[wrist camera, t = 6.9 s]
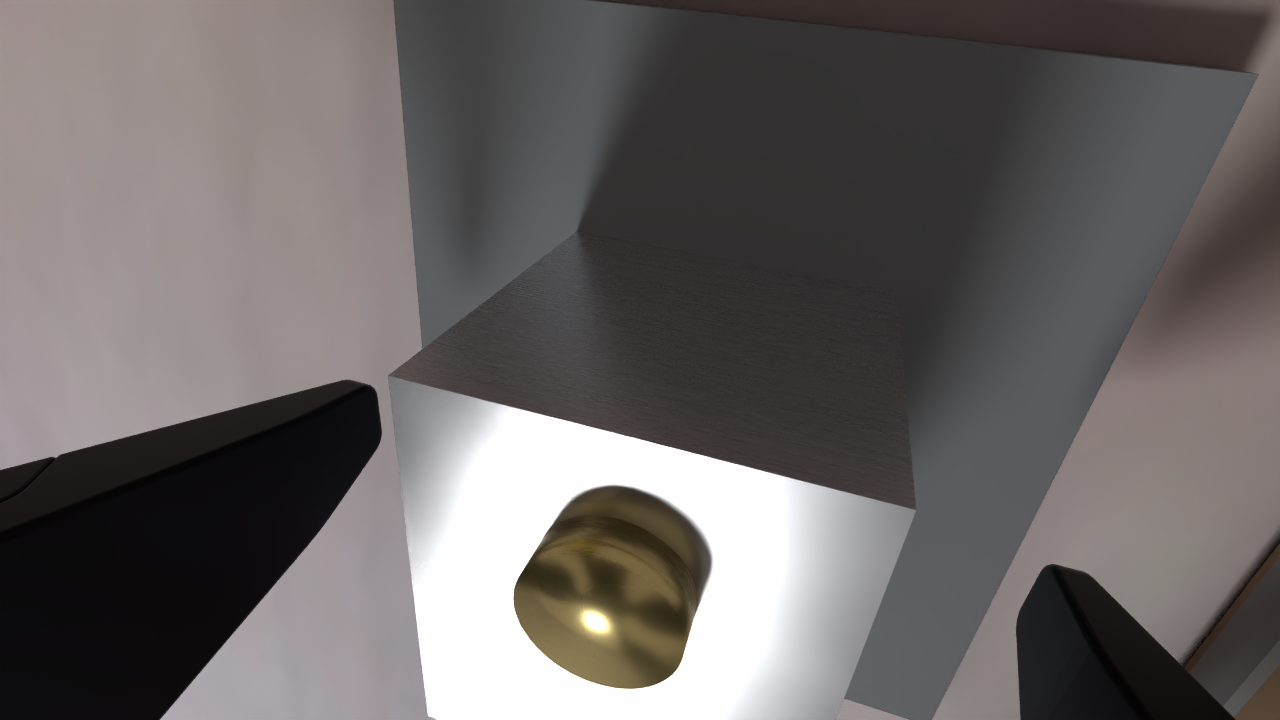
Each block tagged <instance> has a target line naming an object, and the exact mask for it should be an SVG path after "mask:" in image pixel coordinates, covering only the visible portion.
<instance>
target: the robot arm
mask: <svg viewBox="0 0 1280 720" xmlns="http://www.w3.org/2000/svg"><path fill="white" fill-rule="evenodd" d="M381 435H382V429H381V421H380V413H379V405H378V397H377V392H376V391H375V389H374V388H373V387H372V386H371V385H368V384H364V383H360V382H357V381H353V380H342V381H338V382H334V383H330V384H327V385H323V386H319V387H315V388H311V389H308V390H304V391H300V392H296V393H292V394H289V395H285V396H281V397H277V398H273V399H270V400H266V401H262V402H258V403H254V404H251V405H247V406H243V407H239V408H235V409H232V410H228V411H224V412H220V413H216V414H213V415H209V416H205V417H201V418H197V419H194V420H190V421H186V422H182V423H178V424H175V425H171V426H167V427H163V428H159V429H156V430H152V431H148V432H144V433H140V434H137V435H133V436H129V437H125V438H121V439H118V440H114V441H110V442H106V443H102V444H99V445H95V446H91V447H87V448H83V449H80V450H76V451H72V452H68V453H65V454H61V455H59V456H58V457H57V458H55V457H49V458H45V459H41V460H37V461H34V462H30V463H26V464H22V465H18V466H15V467H11V468H7V469H3V470H0V720H160V719H161V718H162V717H163V715H164V714H165V713H166V712H167V711H168V710H169V708H170V707H171V706H172V705H173V704H174V702H175V701H176V700H177V699H178V698H179V697H180V695H181V694H182V693H183V692H184V691H185V689H186V688H187V687H188V686H189V685H190V684H191V682H192V681H193V680H194V679H195V678H196V677H197V675H198V674H199V673H200V672H201V671H202V669H203V668H204V667H205V666H206V665H207V664H208V662H209V661H210V660H211V659H212V658H213V657H214V655H215V654H216V653H217V652H218V651H219V649H220V648H221V647H222V646H223V645H224V644H225V642H226V641H227V640H228V639H229V638H230V637H231V635H232V634H233V633H234V632H235V631H236V629H237V628H238V627H239V626H240V625H241V624H242V622H243V621H244V620H245V619H246V618H247V616H248V615H249V614H250V613H251V612H252V611H253V609H254V608H255V607H256V606H257V605H258V604H259V602H260V601H261V600H262V599H263V598H264V596H265V595H266V594H267V593H268V592H269V591H270V589H271V588H272V587H273V586H274V585H275V584H276V582H277V581H278V580H279V579H280V578H281V576H282V575H283V574H284V573H285V572H286V571H287V569H288V568H289V567H290V566H291V565H292V564H293V562H294V561H295V560H296V559H297V558H298V556H299V555H300V554H301V553H302V552H303V551H304V549H305V548H306V547H307V546H308V545H309V543H310V542H311V541H312V540H313V539H314V537H315V536H316V535H317V534H318V532H319V531H320V530H321V528H322V527H323V526H324V524H325V523H326V522H327V520H328V519H329V518H330V516H331V515H332V513H333V512H334V510H335V509H336V507H337V506H338V505H339V503H340V502H341V500H342V499H343V497H344V496H345V494H346V493H347V492H348V490H349V489H350V487H351V486H352V484H353V483H354V481H355V480H356V479H357V477H358V476H359V474H360V473H361V471H362V470H363V468H364V467H365V465H366V464H367V463H368V461H369V460H370V458H371V457H372V455H373V454H374V452H375V451H376V449H377V448H378V446H379V443H380V440H381ZM1016 637H1017V657H1018V677H1019V697H1020V716H1021V720H1236V719H1235V718H1234V717H1233V716H1232V715H1231V714H1230V713H1229V712H1228V711H1227V710H1226V709H1225V708H1224V707H1223V706H1222V705H1221V704H1220V703H1219V702H1218V701H1217V700H1216V699H1215V698H1214V697H1213V696H1212V695H1211V694H1210V693H1209V692H1208V691H1207V690H1206V689H1205V688H1204V687H1203V686H1202V685H1201V684H1200V683H1199V682H1198V681H1197V680H1196V679H1195V678H1194V677H1193V676H1192V675H1191V674H1190V673H1189V672H1188V671H1187V670H1186V669H1185V668H1184V667H1183V666H1182V665H1180V664H1179V663H1178V662H1177V661H1176V660H1175V659H1174V658H1173V657H1172V656H1171V655H1170V654H1169V653H1168V652H1167V651H1166V650H1165V649H1164V648H1163V647H1162V646H1161V645H1160V644H1159V643H1158V642H1157V641H1156V640H1155V639H1154V638H1153V637H1152V636H1151V635H1150V634H1149V633H1148V632H1147V631H1146V630H1145V629H1144V628H1143V627H1142V626H1141V625H1140V624H1139V623H1138V622H1137V621H1136V620H1135V619H1134V618H1133V617H1132V616H1131V615H1130V614H1129V613H1128V612H1127V611H1126V610H1125V609H1124V608H1123V607H1122V606H1121V605H1120V604H1119V603H1118V602H1117V601H1116V600H1115V599H1114V598H1113V597H1112V596H1111V595H1110V594H1109V593H1108V592H1107V591H1106V590H1105V589H1104V588H1103V587H1102V586H1101V585H1100V584H1099V583H1098V582H1097V581H1096V580H1095V579H1094V578H1093V577H1091V576H1090V575H1089V574H1087V573H1085V572H1082V571H1079V570H1075V569H1071V568H1067V567H1064V566H1060V565H1056V564H1051V565H1047V566H1046V567H1044V568H1043V569H1042V571H1041V572H1040V574H1039V576H1038V578H1037V579H1036V581H1035V583H1034V585H1033V587H1032V589H1031V590H1030V592H1029V594H1028V596H1027V598H1026V600H1025V602H1024V603H1023V605H1022V607H1021V609H1020V611H1019V614H1018V618H1017V625H1016Z"/></svg>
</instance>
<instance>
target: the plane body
mask: <svg viewBox="0 0 1280 720" xmlns="http://www.w3.org/2000/svg"><path fill="white" fill-rule="evenodd" d="M1184 668H1185V669H1186V670H1187V671H1188V672H1189V673H1190V674H1191V675H1192V676H1193V677H1194V678H1195V679H1196V680H1197V681H1198V682H1199V683H1200V684H1201V685H1202V686H1203V687H1204V688H1205V689H1206V690H1207V691H1208V692H1209V693H1210V694H1211V695H1212V696H1213V697H1214V698H1215V699H1216V700H1217V701H1218V702H1219V703H1220V704H1221V705H1222V706H1223V707H1224V708H1225V709H1226V710H1227V711H1228V712H1229V713H1230V714H1231V715H1232V716H1233V717H1234V718H1235V719H1236V720H1280V543H1279V545H1278V546H1277V547H1276V548H1275V550H1274V551H1273V552H1272V554H1271V555H1270V556H1269V558H1268V559H1267V560H1266V561H1265V563H1264V564H1263V565H1262V567H1261V568H1260V569H1259V571H1258V572H1257V573H1256V574H1255V576H1254V577H1253V578H1252V580H1251V581H1250V582H1249V584H1248V585H1247V586H1246V587H1245V589H1244V590H1243V591H1242V593H1241V594H1240V595H1239V597H1238V598H1237V599H1236V600H1235V602H1234V603H1233V604H1232V606H1231V607H1230V608H1229V610H1228V611H1227V612H1226V614H1225V615H1224V616H1223V617H1222V619H1221V620H1220V621H1219V623H1218V624H1217V625H1216V627H1215V628H1214V629H1213V630H1212V632H1211V633H1210V634H1209V636H1208V637H1207V638H1206V640H1205V641H1204V642H1203V643H1202V645H1201V646H1200V647H1199V649H1198V650H1197V651H1196V653H1195V654H1194V655H1193V656H1192V658H1191V659H1190V660H1189V662H1188V663H1187V664H1186V666H1185V667H1184Z"/></svg>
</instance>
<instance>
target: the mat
mask: <svg viewBox="0 0 1280 720" xmlns="http://www.w3.org/2000/svg"><path fill="white" fill-rule="evenodd" d="M393 1H394V13H395V25H396V37H397V49H398V61H399V73H400V85H401V97H402V109H403V121H404V133H405V145H406V157H407V169H408V181H409V193H410V205H411V217H412V229H413V241H414V254H415V266H416V278H417V290H418V302H419V314H420V326H421V338H422V349H423V348H425V347H426V346H427V345H429V344H430V343H431V342H433V341H434V340H435V339H437V338H438V337H439V336H440V335H442V334H443V333H444V332H446V331H447V330H448V329H450V328H451V327H452V326H453V325H455V324H456V323H457V322H459V321H460V320H461V319H463V318H464V317H465V316H466V315H468V314H469V313H470V312H472V311H473V310H474V309H476V308H477V307H478V306H480V305H481V304H482V303H483V302H485V301H486V300H487V299H489V298H490V297H491V296H493V295H494V294H495V293H496V292H498V291H499V290H500V289H502V288H503V287H504V286H506V285H507V284H508V283H510V282H511V281H512V280H513V279H515V278H516V277H517V276H519V275H520V274H521V273H523V272H524V271H525V270H526V269H528V268H529V267H530V266H532V265H533V264H534V263H536V262H537V261H538V260H540V259H541V258H542V257H543V256H545V255H546V254H547V253H549V252H550V251H551V250H553V249H554V248H555V247H556V246H558V245H559V244H560V243H562V242H563V241H564V240H566V239H567V238H568V237H570V236H571V235H572V234H573V233H575V232H576V231H581V232H587V233H592V234H597V235H603V236H608V237H613V238H619V239H624V240H629V241H635V242H640V243H645V244H651V245H656V246H661V247H667V248H672V249H677V250H683V251H688V252H693V253H699V254H704V255H709V256H715V257H720V258H725V259H731V260H736V261H741V262H747V263H752V264H757V265H763V266H768V267H773V268H779V269H784V270H789V271H795V272H800V273H805V274H811V275H816V276H821V277H827V278H832V279H837V280H843V281H848V282H853V283H859V284H864V285H869V286H875V287H880V288H885V289H891V290H896V291H897V300H898V311H899V322H900V333H901V344H902V356H903V367H904V378H905V389H906V400H907V412H908V423H909V434H910V445H911V457H912V468H913V479H914V490H915V501H916V512H915V515H914V517H913V520H912V523H911V525H910V528H909V530H908V533H907V536H906V538H905V541H904V543H903V546H902V549H901V551H900V554H899V557H898V559H897V562H896V564H895V567H894V570H893V572H892V575H891V577H890V580H889V583H888V585H887V588H886V590H885V593H884V596H883V598H882V601H881V603H880V606H879V609H878V611H877V614H876V616H875V619H874V622H873V624H872V627H871V630H870V632H869V635H868V637H867V640H866V643H865V645H864V648H863V650H862V653H861V656H860V658H859V661H858V663H857V666H856V669H855V671H854V674H853V676H852V679H851V682H850V684H849V687H848V689H847V692H846V695H845V697H844V699H848V700H851V701H854V702H857V703H860V704H863V705H866V706H869V707H872V708H876V709H879V710H882V711H885V712H888V713H891V714H894V715H897V716H900V717H903V718H907V719H910V720H932V718H933V716H934V714H935V712H936V710H937V708H938V706H939V704H940V702H941V700H942V699H943V697H944V695H945V693H946V691H947V689H948V687H949V685H950V683H951V681H952V679H953V677H954V675H955V673H956V671H957V669H958V667H959V665H960V663H961V661H962V659H963V657H964V655H965V653H966V651H967V649H968V647H969V645H970V643H971V641H972V639H973V637H974V635H975V633H976V631H977V629H978V627H979V625H980V624H981V622H982V620H983V618H984V616H985V614H986V612H987V610H988V608H989V606H990V604H991V602H992V600H993V598H994V596H995V594H996V592H997V590H998V588H999V586H1000V584H1001V582H1002V580H1003V578H1004V576H1005V574H1006V572H1007V570H1008V568H1009V566H1010V564H1011V562H1012V560H1013V558H1014V556H1015V554H1016V552H1017V551H1018V549H1019V547H1020V545H1021V543H1022V541H1023V539H1024V537H1025V535H1026V533H1027V531H1028V529H1029V527H1030V525H1031V523H1032V521H1033V519H1034V517H1035V515H1036V513H1037V511H1038V509H1039V507H1040V505H1041V503H1042V501H1043V499H1044V497H1045V495H1046V493H1047V491H1048V489H1049V487H1050V485H1051V483H1052V481H1053V479H1054V478H1055V476H1056V474H1057V472H1058V470H1059V468H1060V466H1061V464H1062V462H1063V460H1064V458H1065V456H1066V454H1067V452H1068V450H1069V448H1070V446H1071V444H1072V442H1073V440H1074V438H1075V436H1076V434H1077V432H1078V430H1079V428H1080V426H1081V424H1082V422H1083V420H1084V418H1085V416H1086V414H1087V412H1088V410H1089V408H1090V406H1091V405H1092V403H1093V401H1094V399H1095V397H1096V395H1097V393H1098V391H1099V389H1100V387H1101V385H1102V383H1103V381H1104V379H1105V377H1106V375H1107V373H1108V371H1109V369H1110V367H1111V365H1112V363H1113V361H1114V359H1115V357H1116V355H1117V353H1118V351H1119V349H1120V347H1121V345H1122V343H1123V341H1124V339H1125V337H1126V335H1127V333H1128V332H1129V330H1130V328H1131V326H1132V324H1133V322H1134V320H1135V318H1136V316H1137V314H1138V312H1139V310H1140V308H1141V306H1142V304H1143V302H1144V300H1145V298H1146V296H1147V294H1148V292H1149V290H1150V288H1151V286H1152V284H1153V282H1154V280H1155V278H1156V276H1157V274H1158V272H1159V270H1160V268H1161V266H1162V264H1163V262H1164V260H1165V259H1166V257H1167V255H1168V253H1169V251H1170V249H1171V247H1172V245H1173V243H1174V241H1175V239H1176V237H1177V235H1178V233H1179V231H1180V229H1181V227H1182V225H1183V223H1184V221H1185V219H1186V217H1187V215H1188V213H1189V211H1190V209H1191V207H1192V205H1193V203H1194V201H1195V199H1196V197H1197V195H1198V193H1199V191H1200V189H1201V187H1202V186H1203V184H1204V182H1205V180H1206V178H1207V176H1208V174H1209V172H1210V170H1211V168H1212V166H1213V164H1214V162H1215V160H1216V158H1217V156H1218V154H1219V152H1220V150H1221V148H1222V146H1223V144H1224V142H1225V140H1226V138H1227V136H1228V134H1229V132H1230V130H1231V128H1232V126H1233V124H1234V122H1235V120H1236V118H1237V116H1238V114H1239V113H1240V111H1241V109H1242V107H1243V105H1244V103H1245V101H1246V99H1247V97H1248V95H1249V93H1250V91H1251V89H1252V87H1253V85H1254V83H1255V81H1256V79H1257V77H1258V75H1259V74H1255V73H1249V72H1243V71H1238V70H1232V69H1223V68H1214V67H1205V66H1196V65H1187V64H1178V63H1169V62H1160V61H1150V60H1141V59H1132V58H1123V57H1114V56H1105V55H1096V54H1087V53H1077V52H1068V51H1059V50H1050V49H1041V48H1032V47H1023V46H1014V45H1005V44H995V43H986V42H977V41H968V40H959V39H950V38H941V37H932V36H922V35H913V34H904V33H895V32H886V31H877V30H868V29H859V28H850V27H840V26H831V25H822V24H813V23H804V22H795V21H786V20H777V19H767V18H758V17H749V16H740V15H731V14H722V13H713V12H704V11H695V10H685V9H676V8H667V7H658V6H649V5H640V4H631V3H622V2H612V1H603V0H393Z"/></svg>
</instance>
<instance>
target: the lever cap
mask: <svg viewBox="0 0 1280 720" xmlns="http://www.w3.org/2000/svg"><path fill="white" fill-rule="evenodd" d="M388 380H389V389H390V397H391V406H392V414H393V423H394V431H395V440H396V448H397V457H398V465H399V474H400V482H401V491H402V499H403V508H404V516H405V525H406V533H407V542H408V550H409V559H410V567H411V576H412V585H413V593H414V602H415V610H416V619H417V627H418V636H419V644H420V653H421V661H422V670H423V678H424V687H425V695H426V704H427V712H428V716H430V717H432V718H435V719H438V720H836V718H837V716H838V713H839V710H840V708H841V705H842V702H843V700H844V697H845V695H846V692H847V689H848V687H849V684H850V682H851V679H852V676H853V674H854V671H855V669H856V666H857V663H858V661H859V658H860V656H861V653H862V650H863V648H864V645H865V643H866V640H867V637H868V635H869V632H870V630H871V627H872V624H873V622H874V619H875V616H876V614H877V611H878V609H879V606H880V603H881V601H882V598H883V596H884V593H885V590H886V588H887V585H888V583H889V580H890V577H891V575H892V572H893V570H894V567H895V564H896V562H897V559H898V557H899V554H900V551H901V549H902V546H903V543H904V541H905V538H906V536H907V533H908V530H909V528H910V525H911V523H912V520H913V517H914V515H915V512H916V501H915V490H914V479H913V468H912V457H911V445H910V434H909V423H908V412H907V400H906V389H905V378H904V367H903V356H902V344H901V333H900V322H899V311H898V300H897V291H896V290H891V289H885V288H880V287H875V286H869V285H864V284H859V283H853V282H848V281H843V280H837V279H832V278H827V277H821V276H816V275H811V274H805V273H800V272H795V271H789V270H784V269H779V268H773V267H768V266H763V265H757V264H752V263H747V262H741V261H736V260H731V259H725V258H720V257H715V256H709V255H704V254H699V253H693V252H688V251H683V250H677V249H672V248H667V247H661V246H656V245H651V244H645V243H640V242H635V241H629V240H624V239H619V238H613V237H608V236H603V235H597V234H592V233H587V232H581V231H576V232H575V233H573V234H572V235H571V236H570V237H568V238H567V239H566V240H564V241H563V242H562V243H560V244H559V245H558V246H556V247H555V248H554V249H553V250H551V251H550V252H549V253H547V254H546V255H545V256H543V257H542V258H541V259H540V260H538V261H537V262H536V263H534V264H533V265H532V266H530V267H529V268H528V269H526V270H525V271H524V272H523V273H521V274H520V275H519V276H517V277H516V278H515V279H513V280H512V281H511V282H510V283H508V284H507V285H506V286H504V287H503V288H502V289H500V290H499V291H498V292H496V293H495V294H494V295H493V296H491V297H490V298H489V299H487V300H486V301H485V302H483V303H482V304H481V305H480V306H478V307H477V308H476V309H474V310H473V311H472V312H470V313H469V314H468V315H466V316H465V317H464V318H463V319H461V320H460V321H459V322H457V323H456V324H455V325H453V326H452V327H451V328H450V329H448V330H447V331H446V332H444V333H443V334H442V335H440V336H439V337H438V338H437V339H435V340H434V341H433V342H431V343H430V344H429V345H427V346H426V347H425V348H423V349H422V350H421V351H420V352H418V353H417V354H416V355H414V356H413V357H412V358H410V359H409V360H408V361H407V362H405V363H404V364H403V365H401V366H400V367H399V368H397V369H396V370H395V371H393V372H392V373H391V374H390V375H388Z"/></svg>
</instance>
